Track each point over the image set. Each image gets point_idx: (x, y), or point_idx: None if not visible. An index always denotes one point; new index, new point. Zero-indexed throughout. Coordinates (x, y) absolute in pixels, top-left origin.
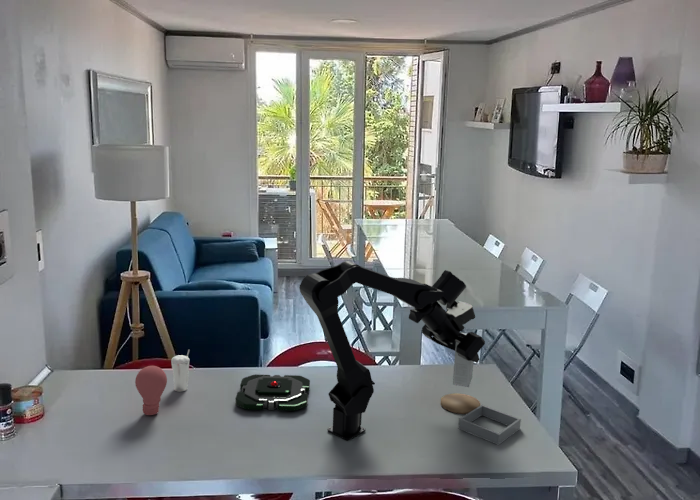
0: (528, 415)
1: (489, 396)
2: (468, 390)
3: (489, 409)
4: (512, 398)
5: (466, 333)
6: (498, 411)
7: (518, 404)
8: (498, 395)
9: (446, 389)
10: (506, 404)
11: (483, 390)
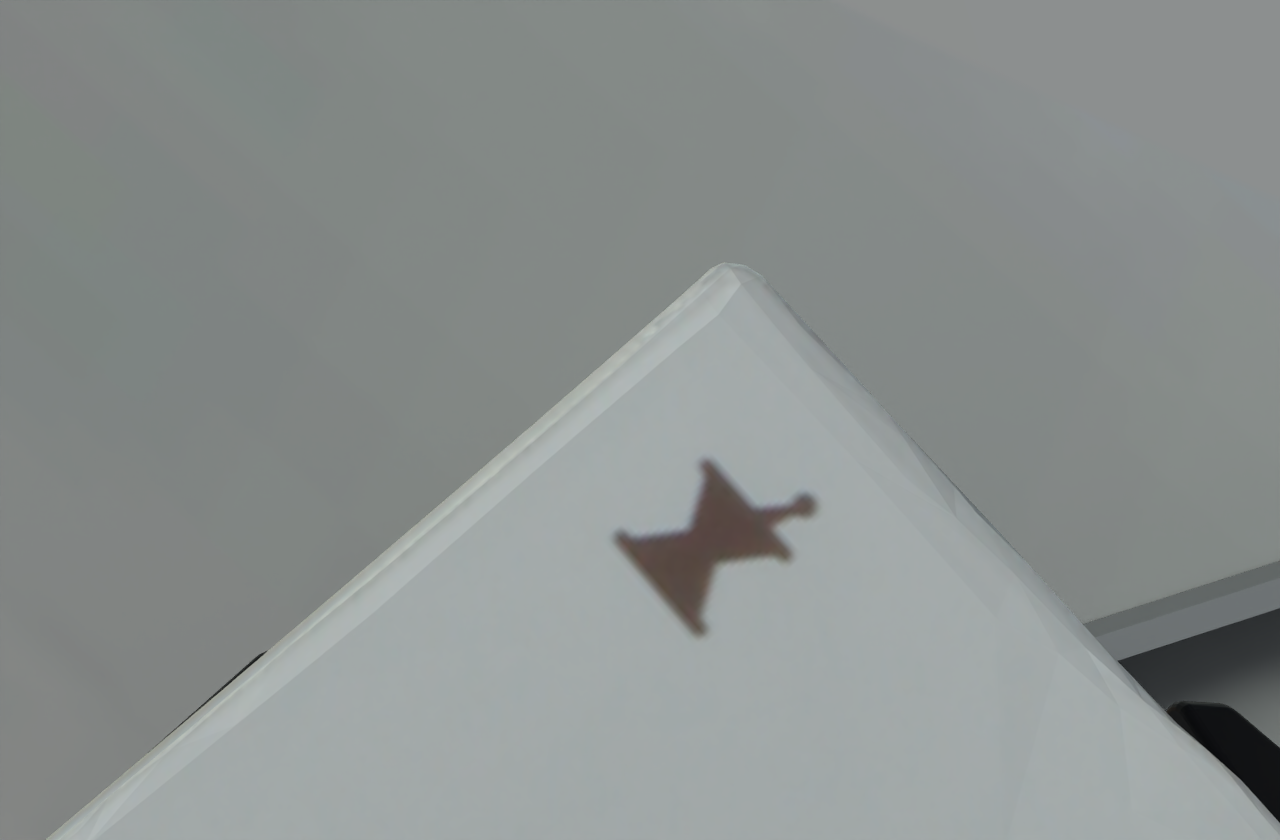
0: (1223, 179)
1: (650, 232)
2: (399, 347)
3: (1151, 649)
4: (813, 35)
5: (318, 699)
6: (1273, 600)
7: (962, 83)
8: (679, 120)
9: (233, 583)
10: (904, 203)
11: (490, 183)
